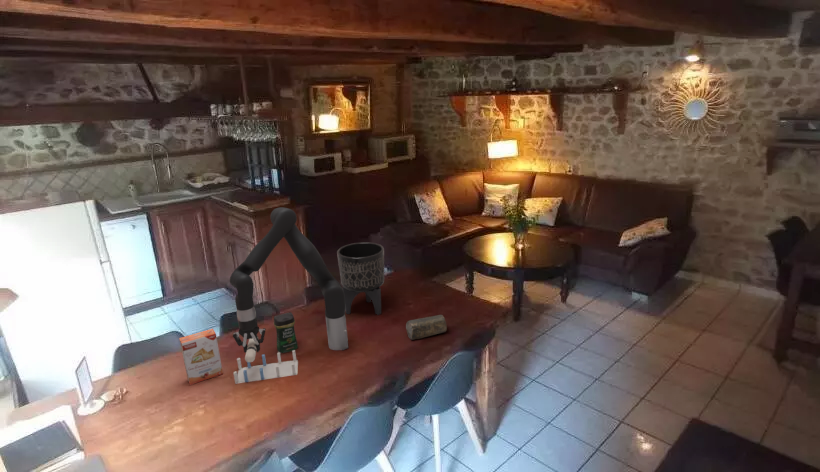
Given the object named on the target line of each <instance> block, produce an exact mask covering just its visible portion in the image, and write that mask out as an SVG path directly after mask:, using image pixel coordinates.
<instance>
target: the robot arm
mask: <svg viewBox="0 0 820 472" xmlns="http://www.w3.org/2000/svg"><path fill="white" fill-rule="evenodd" d="M297 218H298V217H297V213H296V211H294V210H293V209H291V208H287V207H277V208H274V209H273V210H272V211H271V212H270V221H271V223H272V226H271V228H270V229H269V231H268V232H267V233H266V235H264V237H263V238H262V239H261V240H259V241H258V242H257V244H255V246H254V247H253V248H252V250H251V251H250V252H249V254H248V255H247V256H246V258H245V259H244V261H243V262H241V264H240V265H239V266H237V267H236V268H235V269H234V270H233V271H232V273H231V275H230V278H229V284H230V285H231V287H234V288H235V289H236V291H237V294H236V296H235V298H234V300H235V301H234V302H235V306H236V319H237V324H238V329H239V330H238V331H234V332H233V334H232V337H233V340H235V342H236V344H237V345H238V347H241V346H242V347H243V353H245V354H246V350H247V346H248V343H247V340H249V339H253V340H254V341H255V343H256V353H259V352H260V351H261V345H260V344H263V343H264V339H265V334H266V330H267V329H266V328H260V327H259V325H258V318H257V312H256V308H255V304H254V303H255V302H254V297H253V295H254V281H253V279H252V277H251V275H252V274H253V273H255V272H259V271H260V269H261V268H262V267H263V265H264V264H265V262H266V261H267V259H268V257H269V256H270V255H271V253H272V252H273V250H274V249H275V248H276V246H277V245H278V244H279V243H280V241H282V239H283V238H284V240H285V241H286V242H287V244H288V245H289V247H290V249H291V251H292V252H293V254H294V255H295V257H296V258H297V260H298V261H299V263H300V264H301V266H303V268H304V269H305V270H306V272H308V273H309V274H310V275H311V276H312V277H313V278H314V279H315V281H316V283H317V285H318V287H319V288H320V290H321V292H322V293H321V294H322V296H323V298H324V306H325V307H324V308H325V310H324V315H325V323H326V324H325V325H326V333H327V341H328V342H327V343H328V348H329V349H330V350H333V351H344V350H346V349H349V341H348V340H349V339H348V338H349V337H348V330H347V329H348V328H347V319H346V318H347V317H346V312H345V296H344V291H343V289H342V287H343V286H342V284H341V283H340V282H339V281H338V280H337V279H336V278H335V277H334V275H333V274H332V273H331V272H330V270H329V269H328V267H327V265H326V263H325V261H324V258H323V257H322V256H321V254H320V252H319V251H318V249H317V248H316V246H315V245H314V244H313V243H312V242H311V240H309V238H308V237H306V235H305V234H303V233H302V232H301V230H300V229H299V228H298V226H297V225H296V223H297V220H298V219H297ZM258 334H260V335H261V336H260V339H258V338H259V336H258ZM240 336H241V337H242V338H243V341H242V339H241V338H240Z"/></svg>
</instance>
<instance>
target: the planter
mask: <svg viewBox="0 0 820 472" xmlns="http://www.w3.org/2000/svg"><path fill="white" fill-rule="evenodd" d="M336 254H337V255H336V256H337V262H338V263H337V264H338V269H339V275H340V276H339V277H340V284H341V287H342V289H343V291H344V296H345V315H350V314H351V311H352V309H351V308H352V303H353V301H354V299H355V298H356V297H357V296H358V295H359V294H361V293H365V294H364V295H365V300H366V303H371V302H372V304H373V307H374V314H375V315H376V314H377V315H376V316H379V315H381V314H382V293H381V291H382V290H381V287H382V286H383V284H384V282H385V248H384V246H383V245H381V244H379V243H376V242H368V241H367V242H366V241H365V242H364V241H362V242H354V243H350V244H346V245H343V246H341V247H340V248H339V249H338V250H337V251H336ZM371 300H372V301H371Z"/></svg>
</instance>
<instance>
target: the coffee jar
mask: <svg viewBox="0 0 820 472" xmlns="http://www.w3.org/2000/svg"><path fill="white" fill-rule="evenodd" d="M295 323H296V320H295V317H294V314H293V313H292V312H291V311H289V312H285V313H281V314H278V315H274V317H273V326H274V328H275V330H276V350H277V353H278V352H280V354H285V353H289V352H292V350H295V351H296V350H297V349H299V346H298V345H299V344H298V340H297V335H296V330H295Z"/></svg>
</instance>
